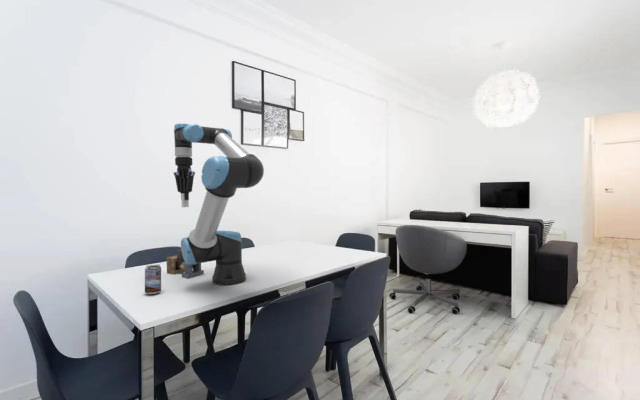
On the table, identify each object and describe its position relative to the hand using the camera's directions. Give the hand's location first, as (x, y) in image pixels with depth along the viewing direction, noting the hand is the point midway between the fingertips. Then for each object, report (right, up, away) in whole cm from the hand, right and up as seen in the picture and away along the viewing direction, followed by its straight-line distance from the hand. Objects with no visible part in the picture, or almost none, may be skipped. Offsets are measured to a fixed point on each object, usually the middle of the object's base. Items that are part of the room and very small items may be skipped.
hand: (185, 207), depth 157 cm
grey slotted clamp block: (+1, -34, +7) cm, 35 cm away
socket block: (-10, -34, +14) cm, 38 cm away
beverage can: (-5, -36, -20) cm, 41 cm away
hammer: (-5, -32, +11) cm, 34 cm away
